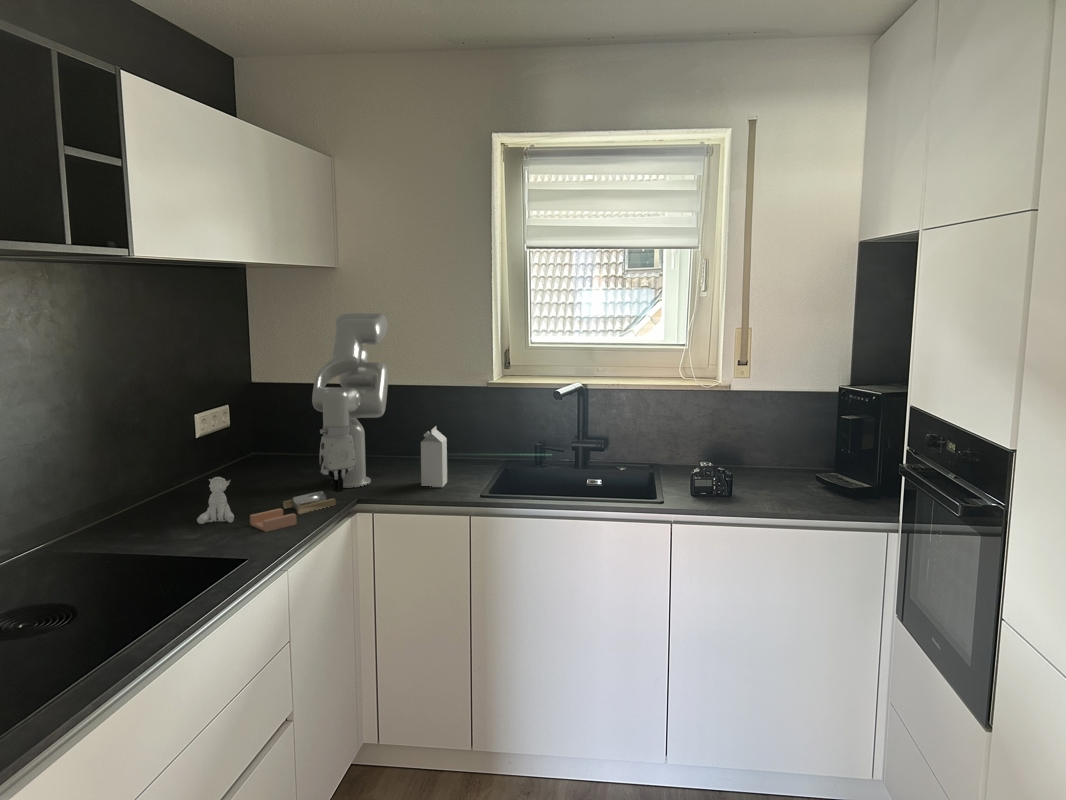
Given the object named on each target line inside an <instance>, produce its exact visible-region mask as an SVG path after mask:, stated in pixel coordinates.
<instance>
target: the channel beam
mask: <svg viewBox="0 0 1066 800" xmlns="http://www.w3.org/2000/svg"><path fill="white" fill-rule="evenodd" d="M336 500H337V499H335V498H330V499H329V498H328V499H326V500H324V501H319V502H315V503H311V504H306V505H302V506H298V507H297V510H296V513H297V515H303V514H305V513H306V514H307V513H310V511H311V512H315V511H314V510H316V511H319V509H320V510H323V509H322V508H324V509H327V508H326V507H328V508H331V507H330V506H333V507H335V506H334V505H336V504H337V501H336ZM336 506H337V505H336ZM282 507H283V508H282V509H285V510H287V509H291V508H293V507H292V499H287V500H284V501H282Z"/></svg>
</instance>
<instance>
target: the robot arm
mask: <svg viewBox="0 0 1066 800" xmlns="http://www.w3.org/2000/svg"><path fill="white" fill-rule="evenodd" d="M388 326H389V324H388V319H387V317H386V315H384V314H383V313H379V312H378V313H376V312H372V313H371V312H363V313H362V312H350V313H344V314H340V315H339V316H337V318H336V321H335V335H334V336H335V337H334V344H333V351H332V352H333V353H332V357H331V359H330V360H329V361H327V362H326V363H325V364H323V366H322V367H321V369H320V370H319V371H318V372H317V374H316V375H315V378H314V383H313V389H312V394H311V395H312V396H311V397H312V398H311V402H312V406H313V408H314V410H316V411H318V412H321V413H322V423H323V425H322V429H319V433H320V434H321V435H322V436H321V439H320V445H319V446H320V447H319V467H320V468H321V469H320V474H322V475H327V476H328V477H329V478H330V479H331V489H332V491H333V492H336V493H342V492H343V491H344V489H345V488H346V489H350V488H353V487H354V488H359V487H360V486H361V487H365V486H367V484H368V485H369V484H371V481H372V480H371V478H370V477H368V476H366V475H367V474H366V473H367V472H366V470H367V469H366V439H365V438H366V435H365V429H364V427H363V425H362V423H360V421H359V420H358V419H361V418H364V419H365V418H367V419H368V418H371V419H373V418H376V419H377V418H381V417H382V416H383V415H384V414H385V411H386V406H387V398H388V397H387V396H388V388H389V371H388V368H387V366H386V365H385V364H384V363H382V362H378V361H369V353H368V351H367V349H366V347H364V346H365V345H371V346H372V345H379V344H381V342H382V340H384V338H385V337H386V335H387V332H388ZM338 376H339V385H340V386H341V387H336V386H335V387H333V386H332V387H329V386H328V387H326V385H328V383H329V382H330V381H331V380H332V379H334V378H336V377H338ZM364 485H365V486H364ZM354 488H353V489H354Z"/></svg>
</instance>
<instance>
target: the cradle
mask: <svg viewBox="0 0 1066 800" xmlns="http://www.w3.org/2000/svg"><path fill="white" fill-rule="evenodd" d="M297 521H298V520H297V514H295V513H288V514H285V515H284V508H280V507H279V508H275V509H271V510H267V511H263V512H258V513H252V514H250V515H249V523H250V524H249V525H250V526H252V527H254V528H256V529H259V530H261V531H263V532H265V533H267V532H271V531H276V530H279V529H284V528H287V527H293V526H296V525H297Z"/></svg>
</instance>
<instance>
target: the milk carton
mask: <svg viewBox="0 0 1066 800" xmlns="http://www.w3.org/2000/svg"><path fill="white" fill-rule="evenodd" d="M423 437H424V439H422V440H421V442H420V475H421V476H420V479H421V480H420V481H421V486H430V487H429V488H443V487H445V485H446V484H447V483H448V449H447V447H448V445H447V443H448V442H447V441H448V440H447V437H446V436H445V435H443V434H442V432H440V431H439V430H438V429H437V425H435V426H434V427H433V428H432V429H430V431H429V430H428V431H426V432H425V433H424V434H423ZM431 486H432V487H431Z"/></svg>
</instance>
